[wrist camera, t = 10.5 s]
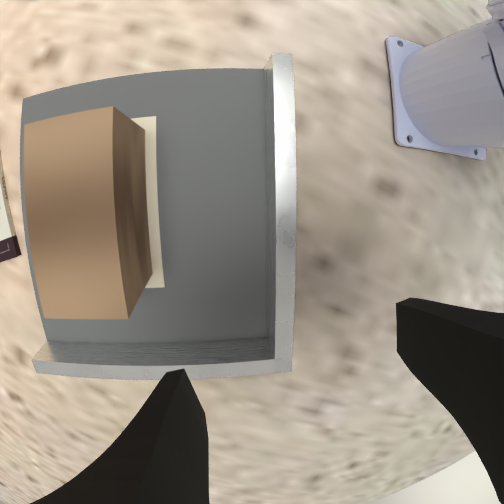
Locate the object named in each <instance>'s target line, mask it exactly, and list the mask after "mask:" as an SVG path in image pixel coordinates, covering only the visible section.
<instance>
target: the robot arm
mask: <svg viewBox="0 0 504 504" xmlns="http://www.w3.org/2000/svg"><path fill="white" fill-rule="evenodd" d="M488 3H489V4H488V5H487V10H488V12H489V13H490V15H491V16H492V17H493V18H492V19H489V20H487V21H484V22H482V23H479V24H477V25H474V26H472V27H469V28H467V29H464V30H462V31H460V32H457V33H455V34H453V35H451V36H448V37H446V38H444V39H442V40H439V41H437V42H435V43H433V44H431V45H429V46H427V47H425V46H422V45H419V44H416V43H413V42H410V41H407V40H404V39H401V38H398V37H394V36H389V37H388V38H387V39H386V46H387V53H388V60H389V68H390V77H391V87H392V98H393V112H394V130H395V141H396V142H397V144H398V145H400V146H406V147H413V148H419V149H425V150H431V151H437V152H443V153H448V154H453V155H458V156H463V157H468V158H473V159H477V160H485V159H486V148H504V0H488ZM398 43H399V44H400V46H399V45H398ZM407 136H408V137H409V142H408V141H407ZM396 316H397V352H398V354H399V355H400V357H401V358H402V360H403V361H404V363H405V364H406V366H407V367H408V368H409V370H410V371H411V372H412V373H413V374H414V375H415V377H416V378H417V379H418V380H419V381H420V382H421V383H422V384H423V385H424V386H425V387H426V388H427V389H428V390H429V391H430V392H431V393H432V394H433V395H434V396H435V397H436V398H437V399H438V401H439V402H440V403H441V404H442V405H443V406H444V407H445V408H446V409H447V410H448V411H449V412H450V414H451V415H452V416H453V417H454V419H455V420H456V421H457V423H458V424H459V426H460V427H461V428H462V430H463V431H464V433H465V434H466V436H467V437H468V439H469V440H470V442H471V444H472V445H473V447H474V448H475V450H476V452H477V453H478V455H479V457H480V459H481V461H482V463H483V464H484V466H485V468H486V470H487V472H488V475H489V477H490V479H491V481H492V484H493V486H494V488H495V491H496V493H497V496H498V499H499V501H500V502H501V504H504V313H496V312H488V311H481V310H474V309H469V308H464V307H458V306H454V305H449V304H444V303H439V302H434V301H429V300H424V299H418V298H408V299H406V300H403V301H401V302H398V303H396ZM30 504H209V466H208V432H207V424H206V417H205V412H204V410H203V408H202V406H201V404H200V402H199V400H198V398H197V395H196V393H195V391H194V389H193V387H192V385H191V382H190V380H189V378H188V376H187V373H186V371H185V369H184V368H183V369H179V370H174V371H169V372H166V373H165V375H164V376H163V377H162V379H161V380H160V382H159V383H158V385H157V386H156V388H155V389H154V390H153V392H152V393H151V395H150V396H149V398H148V399H147V401H146V402H145V403H144V405H143V406H142V408H141V409H140V410H139V412H138V413H137V414H136V416H135V417H134V418H133V419H132V421H131V422H130V423H129V425H128V426H127V427H126V428H125V430H124V431H123V432H122V433H121V435H120V436H119V437H118V438H117V439H116V440H115V441H114V442H113V443H112V444H111V446H110V447H109V448H108V449H107V450H106V451H105V452H104V453H103V454H102V455H101V456H100V457H98V458H97V459H96V460H95V461H94V462H93V463H92V464H90V465H89V466H88V467H87V468H85V469H84V470H83V471H82V472H81V473H79V474H78V475H77V476H76V477H74V478H73V479H72V480H70V481H69V482H67V483H66V484H64V485H63V486H61V487H60V488H58V489H57V490H55V491H53V492H52V493H50V494H48V495H47V496H45V497H43V498H41V499H39V500H37V501H35V502H33V503H30Z"/></svg>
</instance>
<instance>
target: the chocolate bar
mask: <svg viewBox="0 0 504 504" xmlns="http://www.w3.org/2000/svg"><path fill="white" fill-rule="evenodd" d="M19 255H21V252H20V248H19V245H18V241H17V237H16V233H15V229H14V225H13V221H12V217H11V212H10V208H9V203H8V198H7V192H6V187H5V181H4V175H3V168H2V161H1V152H0V262H2V261H5V260H8V259H11V258H14V257H17V256H19Z"/></svg>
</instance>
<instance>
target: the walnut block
mask: <svg viewBox="0 0 504 504" xmlns="http://www.w3.org/2000/svg"><path fill="white" fill-rule="evenodd" d="M24 190H25V205H26V216H27V226H28V235H29V242H30V249H31V256H32V262H33V268H34V273H35V278H36V284H37V288H38V293H39V298H40V302H41V306H42V310H43V314H44V318H50V319H129V317H130V315H131V313H132V311H133V309H134V307H135V305H136V304H137V302H138V300H139V298H140V296H141V294H142V292H143V290H144V289H145V287H146V285H147V283H148V281H149V279H150V277H151V276H152V274H153V272H152V262H151V251H150V240H149V227H148V212H147V194H146V166H145V129H143V128H142V127H141V126H139V125H138V124H137V123H135V122H134V121H132V120H131V119H130V118H128V117H127V116H126V115H124V114H123V113H122V112H120V111H119V110H118V109H116V108H115V107H114V106H111V107H105V108H98V109H93V110H87V111H82V112H76V113H71V114H67V115H62V116H57V117H53V118H49V119H44V120H40V121H36V122H33V123H29V124H25V125H24Z"/></svg>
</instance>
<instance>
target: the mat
mask: <svg viewBox="0 0 504 504" xmlns="http://www.w3.org/2000/svg"><path fill="white" fill-rule="evenodd" d="M111 106H114V107H115V108H116V109H118V110H119V111H120V112H122V113H123V114H124V115H126V116H127V117H128V118H130V119H131V120H132V121H134V122H135V123H137V124H138V125H139V126H141V127H142V128H143V129H145V166H146V194H147V212H148V227H149V240H150V251H151V262H152V272H153V274H152V276H151V277H150V279H149V281H148V283H147V285H146V287H145V289H144V290H143V292H142V294H141V296H140V298H139V300H138V302H137V304H136V305H135V307H134V309H133V311H132V313H131V315H130V317H129V319H50V318H44V314H43V310H42V306H41V302H40V298H39V293H38V288H37V284H36V278H35V273H34V268H33V262H32V256H31V249H30V242H29V235H28V226H27V216H26V205H25V190H24V125H25V124H29V123H33V122H36V121H40V120H44V119H49V118H53V117H57V116H62V115H67V114H71V113H76V112H82V111H87V110H93V109H98V108H105V107H111ZM20 180H21V199H22V212H23V222H24V231H25V239H26V246H27V253H28V259H29V265H30V271H31V276H32V281H33V286H34V291H35V295H36V300H37V304H38V308H39V312H40V316H41V320H42V323H43V327H44V331H45V334H46V338H47V340H48V341H65V342H90V343H175V342H201V341H220V340H235V339H248V338H260V337H266V176H265V120H264V79H263V69H236V68H224V69H191V70H175V71H163V72H152V73H144V74H135V75H128V76H121V77H115V78H109V79H103V80H97V81H92V82H87V83H82V84H78V85H73V86H69V87H64V88H60V89H56V90H52V91H49V92H45V93H41V94H38V95H34V96H31V97H28V98H24V99H23V104H22V117H21V136H20Z"/></svg>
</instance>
